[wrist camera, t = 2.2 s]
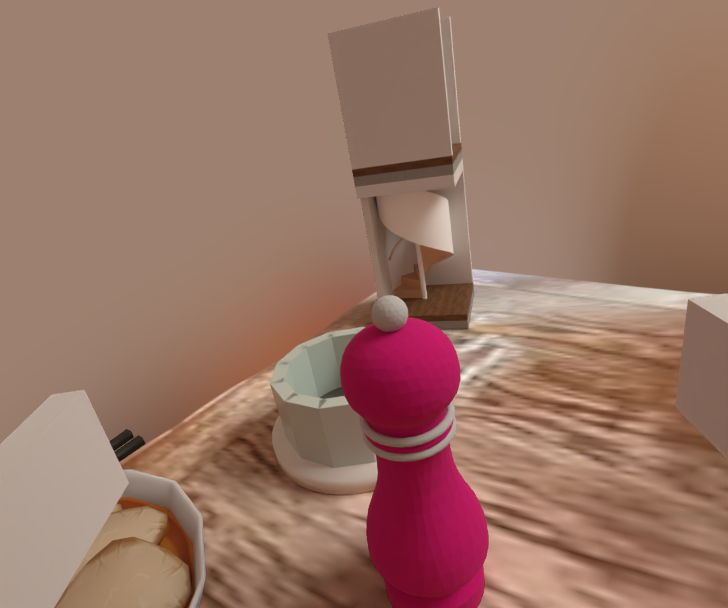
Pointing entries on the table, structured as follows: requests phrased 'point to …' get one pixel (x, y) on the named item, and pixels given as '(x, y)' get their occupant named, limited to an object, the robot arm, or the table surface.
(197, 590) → the ramen bowl
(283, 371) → the well
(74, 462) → the robot arm
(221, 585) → the table surface
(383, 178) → the spiral stair tower
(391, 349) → the pepper mill
